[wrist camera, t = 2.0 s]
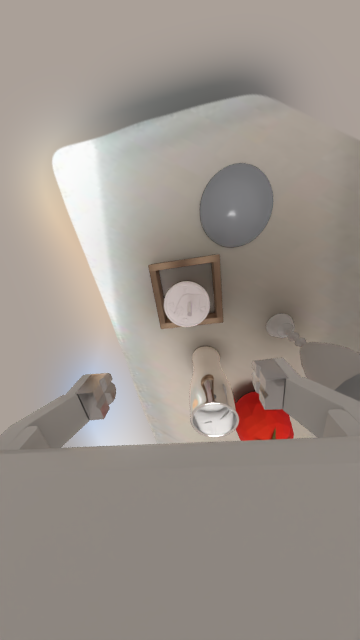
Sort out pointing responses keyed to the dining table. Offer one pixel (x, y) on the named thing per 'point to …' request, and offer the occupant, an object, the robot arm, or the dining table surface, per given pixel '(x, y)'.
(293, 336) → the chalice
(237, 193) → the disc
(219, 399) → the beer glass
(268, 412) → the tomato
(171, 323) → the wooden serving tray
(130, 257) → the dining table surface
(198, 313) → the smoothie
